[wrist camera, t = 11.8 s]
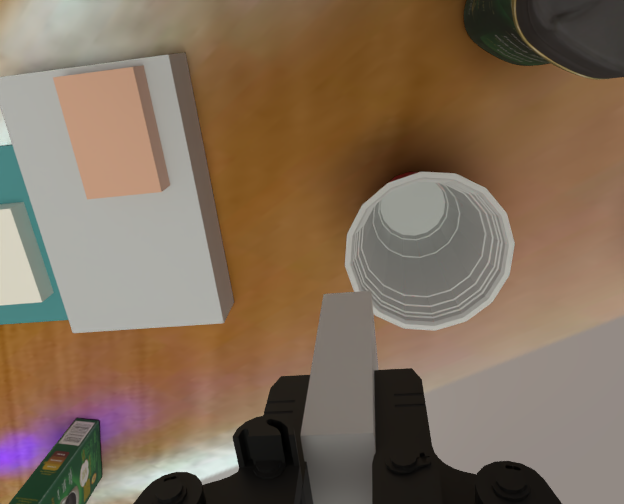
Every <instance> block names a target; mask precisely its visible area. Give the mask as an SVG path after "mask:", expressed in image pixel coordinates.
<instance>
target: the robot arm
mask: <svg viewBox="0 0 624 504" xmlns="http://www.w3.org/2000/svg"><path fill="white" fill-rule="evenodd" d="M233 441H234V446H235V450H236V455H237V459H238V464H239V471H238V472H237V473H235V474H233V475H232V476H230V477H227V478H224V479H222V480H219V481H215V482H212V483H208V484H205V485H202V483H201V481H200V480H199V479H198V477H197V476H196V475H193V474H190V473H188V472H175V473H171V474H168V475H164V476H162V477H160V478H159V479H157V480H155V481H153V482H152V483H151V484H150V485H149V486H148V487H147V488H146V489H145V490H144V491H143V492H142V493H141V495H140V496H139V497H138V499H137V500H136V501H135V503H134V504H561V502H560V500H559V499H558V498H557V497H556V495H555V494H554V492H553V491H552V490H551V488H550V487H549V486H548V484H547V483H546V482H545V480H544V479H543V478H542V477H541V476H540V475H539V474H538V473H537V472H536V471H535V470H533V469H531V468H529V467H527V466H525V465H523V464H520V463H515V462H511V461H500V462H493V463H491V464H488V465H486V466H484V467H483V468H482V469H481V470H480V471H479V472H478V473H477V475H476V474H471V473H467V472H463V471H459V470H457V469H454V468H452V467H450V466H448V465H446V464H445V463H443V462H442V461H441V460H440V459H439V458H438V457H437V455H436V454H435V453H434V450H433V447H432V443H431V437H430V430H429V424H428V417H427V411H426V405H425V398H424V392H423V385H422V379H421V378H420V377H419V376H418V375H417V374H416V373H415V371H414V370H413V369H412V368H410V369H390V370H378V359H377V348H376V337H375V327H374V316H373V305H372V295H371V291H361V292H347V293H332V294H324V295H323V301H322V307H321V313H320V319H319V325H318V331H317V338H316V344H315V350H314V356H313V362H312V368H311V374H310V375H299V376H281V377H280V378H279V379H278V380H277V382H276V383H275V384H274V385H273V386H272V387H271V389H270V392H269V396H268V400H267V404H266V407H265V411H264V415H263V416H261V417H256V418H254V419H252V420H249V421H247V422H245V423H244V424H243V425H242V426H240V427H239V428H238V429H237V430H236V432H235V434H234V435H233Z"/></svg>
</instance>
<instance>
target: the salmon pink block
mask: <svg viewBox="0 0 624 504" xmlns="http://www.w3.org/2000/svg"><path fill="white" fill-rule="evenodd" d="M53 80H54V84H55V87H56V91H57V94H58V98H59V102H60V105H61V109H62V112H63V116H64V119H65V123H66V126H67V130H68V133H69V137H70V141H71V144H72V148H73V151H74V155H75V158H76V162H77V165H78V169H79V172H80V176H81V180H82V183H83V187H84V190H85V194H86V197H87V199H97V198H107V197H117V196H127V195H137V194H147V193H157V192H162V191H164V190H165V189H166V188H167V187H169V186H170V181H169V177H168V172H167V168H166V163H165V159H164V154H163V150H162V145H161V141H160V136H159V132H158V127H157V123H156V118H155V114H154V109H153V105H152V100H151V96H150V91H149V87H148V82H147V78H146V73H145V69H144V65H142V66H134V67H127V68H119V69H112V70H104V71H96V72H89V73H81V74H74V75H66V76H59V77H53Z"/></svg>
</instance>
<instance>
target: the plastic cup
mask: <svg viewBox="0 0 624 504" xmlns="http://www.w3.org/2000/svg"><path fill="white" fill-rule="evenodd" d="M514 245H515V243H514V239H513V235H512V231H511V228H510V224H509V220H508V216H507V213H506V212H505V210H504V209H503V208H502V207H501V206H500V204H499V203H498V202H497V201H496V200H495V198H494V197H493V196H492V195H491V194H490V192H489V191H488V190H487V189H486V188H485V187H483V186H481V185H478V184H476V183H474V182H472V181H470V180H468V179H466V178H464V177H462V176H460V175H458V174H456V173H439V172H407V173H404V174H401V175H398V176H395V177H394V178H393V179H392V180H391V181H389V182H388V183H387V184H386V185H385V186H384V187H383V188H381V189H380V190H379V191H378V192H377V193H376V194H374V195H373V196H372V197H371V198H370V199H369V200H367V201H366V202H365V203H364V204H363V205H362V206H361V208H360V210H359V212H358V214H357V216H356V218H355V220H354V222H353V224H352V225H351V227H350V229H349V231H348V233H347V242H346V256H345V267H346V270H347V273H348V275H349V278H350V281H351V284H352V287H353V289H354V292H361V291H371V295H372V305H373V313H374V314H375V315H376V316H377V317H380V318H382V319H384V320H386V321H388V322H391V323H393V324H395V325H397V326H399V327H402V328H404V329H419V330H439V329H442V328H446V327H449V326H452V325H456V324H459V323H462V322H466V321H467V320H469V319H470V318H472V317H473V316H474V315H476V314H477V313H478V312H480V311H481V310H482V309H484V308H485V307H486V306H488V305H489V304H490V303H492V302H493V300H494V299H495V297H496V295H497V294H498V292H499V291H500V289H501V288H502V286H503V284H504V283H505V281H506V280H507V278H508V277H509V275H510V269H511V263H512V257H513V251H514Z"/></svg>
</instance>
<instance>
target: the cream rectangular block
mask: <svg viewBox="0 0 624 504" xmlns="http://www.w3.org/2000/svg"><path fill="white" fill-rule="evenodd" d="M53 293H54V292H53V289H52V286H51V283H50V280H49V277H48V274H47V271H46V268H45V265H44V262H43V259H42V256H41V253H40V250H39V247H38V244H37V241H36V238H35V235H34V232H33V229H32V226H31V222H30V219H29V216H28V213H27V210H26V207H25V204H24V202H18V203H9V204H0V305H13V304H25V303H38V302H43V301H44V300H45V299H47V298H48V297H49V296H50V295H51V294H53Z"/></svg>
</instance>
